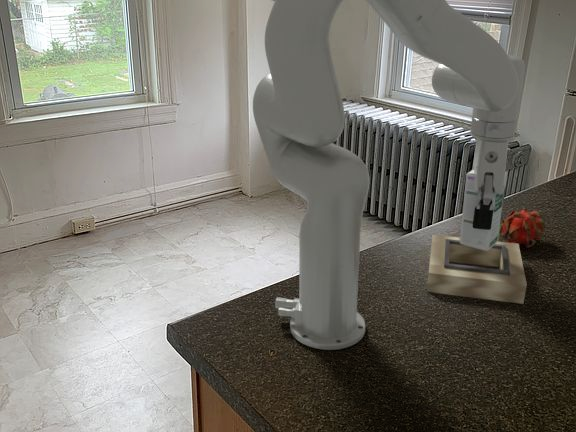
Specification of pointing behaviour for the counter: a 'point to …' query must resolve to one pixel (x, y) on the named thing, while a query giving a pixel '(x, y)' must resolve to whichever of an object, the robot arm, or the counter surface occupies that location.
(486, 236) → the syrup box
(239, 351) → the counter surface
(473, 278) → the socket block
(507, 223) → the dragon fruit
